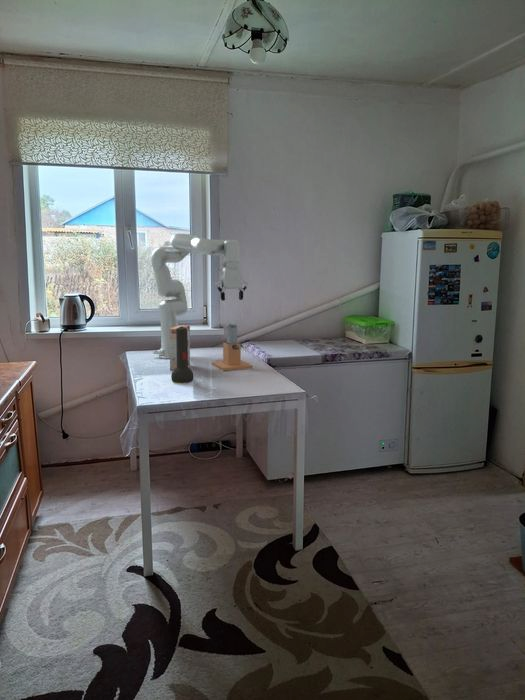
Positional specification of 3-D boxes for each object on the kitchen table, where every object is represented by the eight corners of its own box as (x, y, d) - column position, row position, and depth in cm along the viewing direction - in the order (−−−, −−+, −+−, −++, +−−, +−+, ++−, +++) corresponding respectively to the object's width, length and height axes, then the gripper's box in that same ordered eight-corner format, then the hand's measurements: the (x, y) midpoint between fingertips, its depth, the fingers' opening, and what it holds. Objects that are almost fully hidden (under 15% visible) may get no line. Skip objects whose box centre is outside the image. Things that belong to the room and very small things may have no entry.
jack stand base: (223, 371, 248) (223, 347, 246) (211, 364, 262) (211, 341, 260) (252, 368, 255) (252, 344, 253) (239, 362, 269) (239, 340, 267)
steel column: (229, 363, 255) (229, 325, 251) (225, 362, 259) (225, 324, 255) (237, 363, 257) (238, 325, 253) (234, 361, 261) (234, 324, 258)
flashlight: (167, 380, 229) (176, 384, 221) (166, 325, 224) (175, 328, 216) (187, 377, 234) (197, 381, 226) (187, 324, 230) (196, 326, 222)
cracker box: (181, 371, 246) (180, 328, 242) (169, 370, 248) (168, 328, 244) (190, 365, 260) (190, 325, 256) (179, 364, 261) (179, 324, 257)
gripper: (218, 265, 243) (218, 301, 246) (250, 265, 251) (250, 300, 254) (212, 265, 250) (213, 300, 253) (244, 265, 257) (244, 298, 260)
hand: (232, 300), depth 253 cm, fingers open, 9 cm apart
